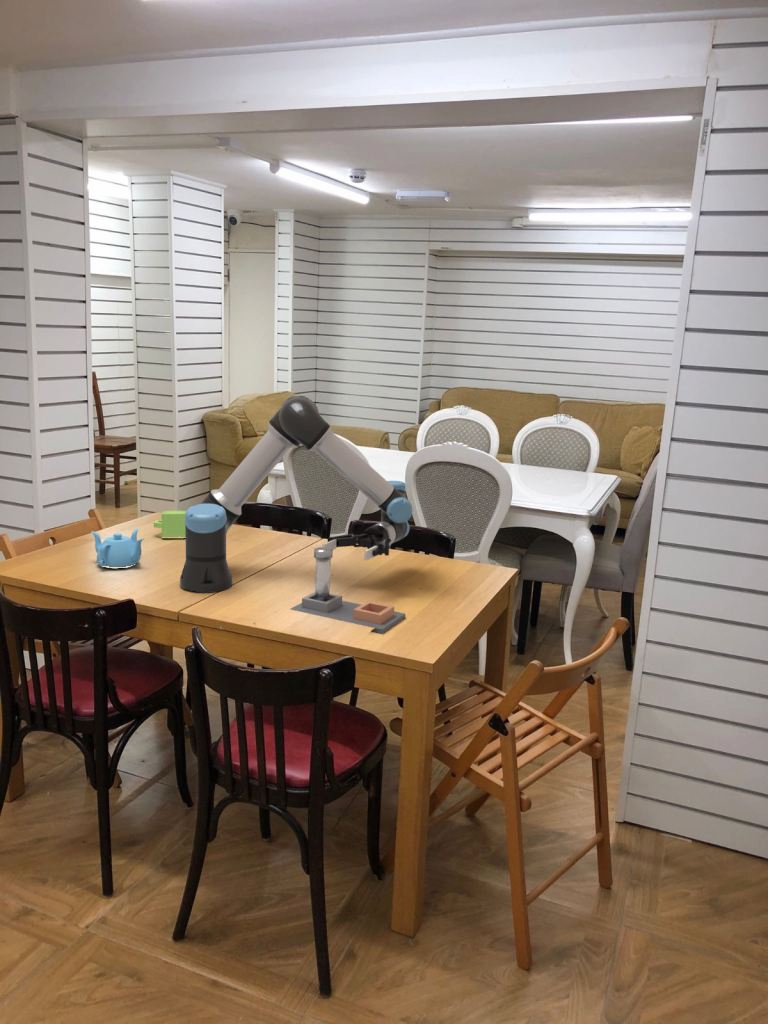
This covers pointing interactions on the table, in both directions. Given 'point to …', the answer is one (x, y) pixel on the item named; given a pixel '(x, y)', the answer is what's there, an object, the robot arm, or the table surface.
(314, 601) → the dock board
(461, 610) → the table surface
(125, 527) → the table surface
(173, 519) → the gearbox
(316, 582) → the pin
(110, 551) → the teapot
